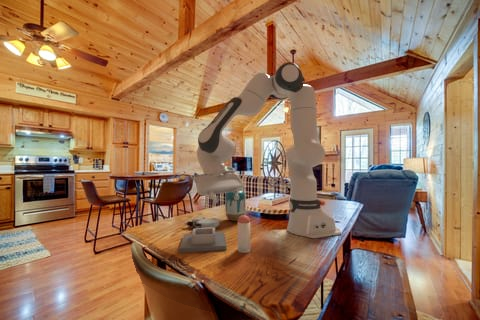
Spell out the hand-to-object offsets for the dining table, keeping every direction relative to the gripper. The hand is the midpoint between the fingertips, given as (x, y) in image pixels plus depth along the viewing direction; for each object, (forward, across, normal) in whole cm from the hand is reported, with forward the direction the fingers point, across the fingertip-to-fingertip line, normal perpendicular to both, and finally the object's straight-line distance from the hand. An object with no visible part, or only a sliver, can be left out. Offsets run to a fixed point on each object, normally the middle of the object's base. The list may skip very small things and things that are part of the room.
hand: (227, 200), depth 81 cm
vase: (-3, +18, +26) cm, 31 cm away
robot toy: (-2, -1, +25) cm, 25 cm away
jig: (+9, -9, +13) cm, 18 cm away
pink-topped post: (+19, 0, +3) cm, 19 cm away
